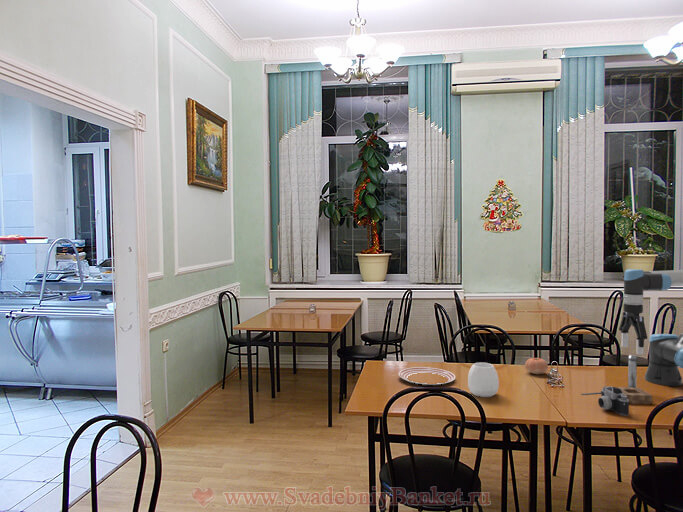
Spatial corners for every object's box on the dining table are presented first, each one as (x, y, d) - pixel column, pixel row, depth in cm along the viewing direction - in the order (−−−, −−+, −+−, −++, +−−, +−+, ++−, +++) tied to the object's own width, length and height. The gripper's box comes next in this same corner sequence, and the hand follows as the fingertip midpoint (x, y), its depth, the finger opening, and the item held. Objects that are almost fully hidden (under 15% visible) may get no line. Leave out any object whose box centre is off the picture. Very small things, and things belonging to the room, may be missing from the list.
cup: (477, 388, 230) (477, 359, 230) (504, 394, 221) (504, 364, 220) (462, 394, 221) (462, 365, 221) (489, 401, 212) (489, 370, 211)
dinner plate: (463, 378, 248) (463, 371, 248) (443, 393, 225) (443, 385, 225) (412, 370, 263) (412, 364, 263) (389, 383, 240) (389, 377, 240)
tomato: (521, 370, 259) (521, 355, 259) (541, 370, 260) (541, 354, 260) (531, 376, 248) (531, 360, 248) (552, 375, 249) (552, 360, 249)
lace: (608, 392, 223) (608, 391, 223) (610, 392, 222) (610, 392, 222) (580, 394, 220) (581, 393, 220) (582, 394, 219) (582, 394, 219)
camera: (588, 403, 208) (588, 380, 208) (607, 403, 209) (607, 379, 208) (611, 417, 193) (611, 392, 192) (631, 416, 193) (631, 391, 193)
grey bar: (634, 389, 226) (634, 354, 225) (637, 391, 223) (638, 356, 222) (626, 389, 226) (627, 354, 226) (630, 391, 223) (630, 356, 222)
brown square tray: (638, 395, 218) (638, 387, 218) (652, 403, 207) (652, 395, 207) (612, 394, 219) (612, 387, 219) (624, 403, 208) (624, 395, 208)
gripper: (611, 300, 236) (610, 344, 237) (638, 307, 211) (637, 357, 212) (628, 300, 235) (627, 344, 236) (657, 307, 210) (656, 357, 211)
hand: (632, 350), depth 224 cm, fingers open, 13 cm apart
